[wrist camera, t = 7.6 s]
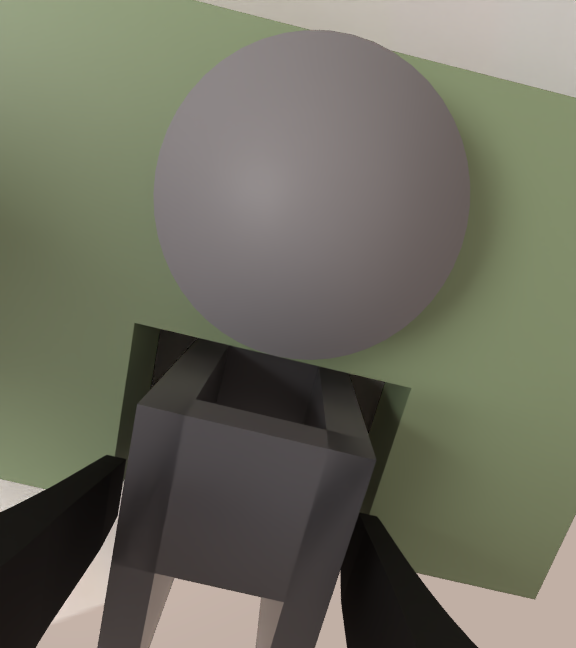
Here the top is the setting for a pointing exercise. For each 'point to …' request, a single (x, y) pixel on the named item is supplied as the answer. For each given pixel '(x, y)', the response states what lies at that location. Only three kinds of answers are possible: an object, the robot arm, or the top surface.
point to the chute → (239, 492)
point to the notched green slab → (295, 255)
